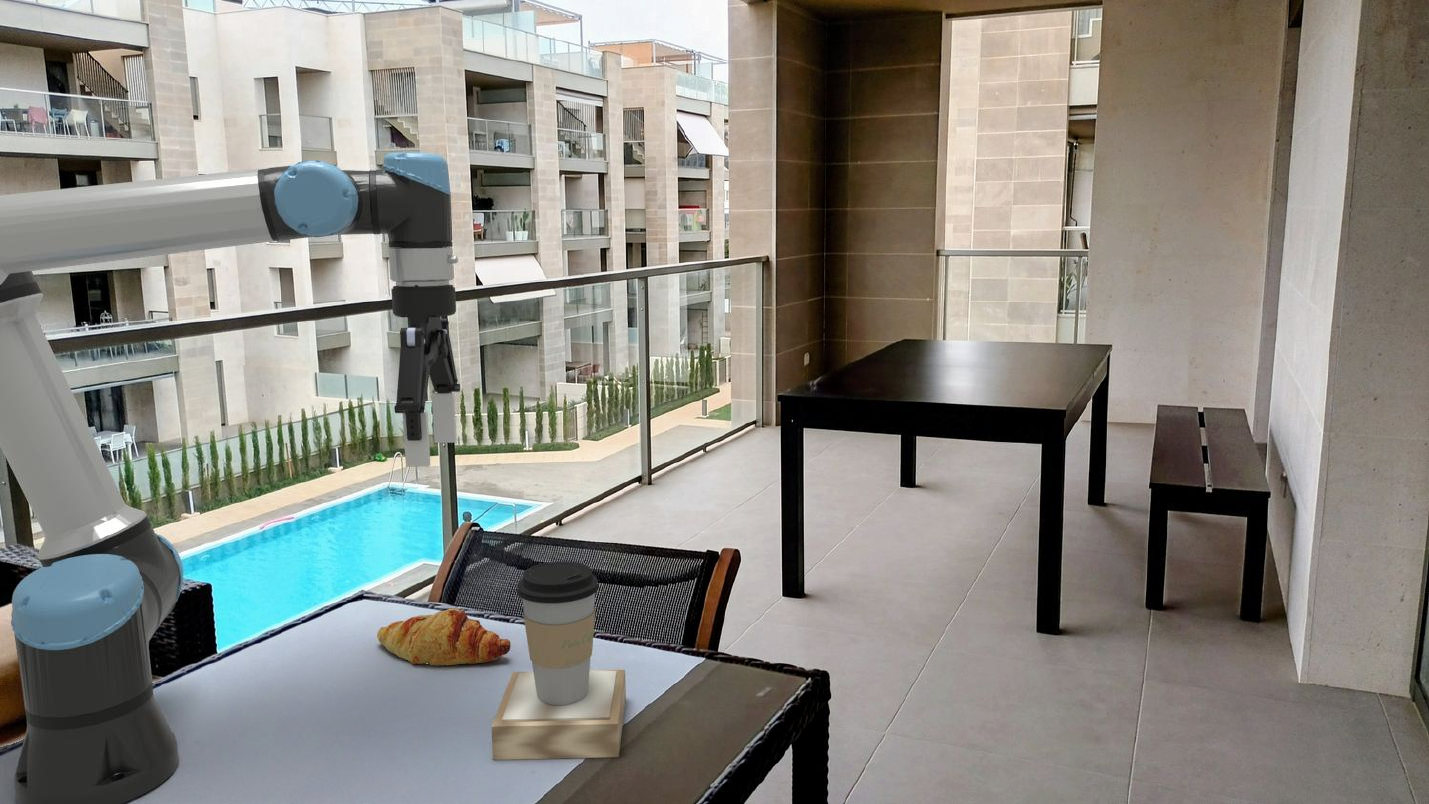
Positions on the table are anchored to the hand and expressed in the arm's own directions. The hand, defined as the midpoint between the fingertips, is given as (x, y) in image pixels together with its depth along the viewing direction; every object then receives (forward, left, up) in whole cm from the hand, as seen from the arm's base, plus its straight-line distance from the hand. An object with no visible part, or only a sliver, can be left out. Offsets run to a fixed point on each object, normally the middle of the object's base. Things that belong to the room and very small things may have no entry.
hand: (432, 453), depth 127 cm
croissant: (-2, +10, -31) cm, 33 cm away
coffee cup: (+17, -13, -26) cm, 34 cm away
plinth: (+17, -13, -31) cm, 37 cm away
